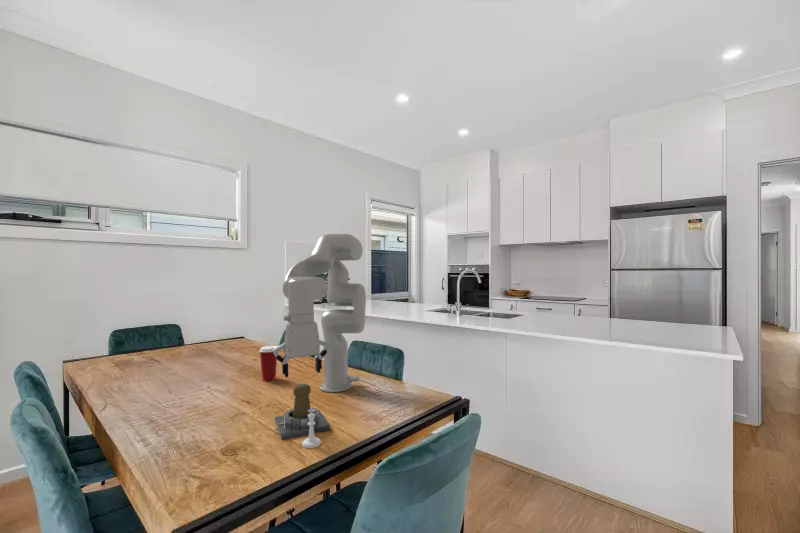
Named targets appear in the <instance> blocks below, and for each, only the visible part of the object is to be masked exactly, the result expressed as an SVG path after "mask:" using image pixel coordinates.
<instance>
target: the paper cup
mask: <svg viewBox="0 0 800 533" xmlns="http://www.w3.org/2000/svg"><path fill="white" fill-rule="evenodd" d="M276 347H277V346H275V345H267V346H266V345H265V346H261V347H260V349H259V353H260V354H259V355H260V367H261V368H260V369H261V380H262V381H263V382H272V381H275V380H276V377H277V358H276V357H275V355H274V353H273V352H272V350H273V349H275V348H276Z"/></svg>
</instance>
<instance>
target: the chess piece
mask: <svg viewBox="0 0 800 533" xmlns="http://www.w3.org/2000/svg"><path fill="white" fill-rule="evenodd" d="M310 407H311V410H308V412H311V413H310V414H308V418H309V421H310V422H308V425H310V429H309V434H308V436H307V438H306V439H303V441H302V445H301V446H302V447H303V448H306V449H313V448H317V447H319V446H320V445H321V443H322V441H321V439H320V438H319V437H317V436H315V433H314V427H313V425H315V424H316V423H315V422H314V417H315V414H314V413H312V412H314V411H315V409H314V410H312V408H313V406H310Z"/></svg>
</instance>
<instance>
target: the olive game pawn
mask: <svg viewBox="0 0 800 533" xmlns="http://www.w3.org/2000/svg"><path fill="white" fill-rule="evenodd" d="M292 390H293V396H294V403H293V409H294V410H293V418H304V417H308V414H310V413H311V412H308V410H311V408H310V407H311V402H310V394H311V386H310V385H309V384H308V383H300V384H297V385H295V386H293V389H292Z"/></svg>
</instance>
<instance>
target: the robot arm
mask: <svg viewBox="0 0 800 533" xmlns="http://www.w3.org/2000/svg"><path fill="white" fill-rule="evenodd" d="M363 250H364V249H363V245H362V243H361V241H360V240H359V239H358V238H357V237H356V236H355V235H352V234H349V233H328V234H324V235H322V236H320V237H319V238H318V240H317V242H316V244H315V246H314V248H313V249H312V251H311V254H310V256H309V255H308V257H306V258H304V259H302V260H301V261H298V262H297V263H295V264H294V265H293V266H292V267H291V268H290V269H289V271H288V272H287V274H286V276H285V278H284V280H283V284H282V294H283V295H284V297H285V298H286V299H287V300H288V302H287V303H288V306H287V307H288V314H287V315H285V316H283V321H284V322H285V321H286V322H287V323H286V325H285V332H284V342H283V343H281V344H280V345H279V346H276V348H275V349H273V350H272V352H273V353H274V355H275V357H276V358H277V360H278V362H280V363H281V368H282V369H281V370H282V372H281V373H282V375H284V376H285V378H289V364H288V362H289V360H290V359H296V358H304V357H306V358H307V357H313V356H315V357H316V358H315V360H314V361H315V362H314V364H315V371H316V372H317V373H318V374H320V373H321V370H322V369H323V382H322V383H321V384H320V385H319V389H320V390H321V391H323V392H326V393H340V392H345V391H348V390H350V389H351V388H352V383H353V382H359V381H360V376H359V375H357V376H355V375H349V374H348V371H349V370H348V369H349V367H348V366H349V364H348V358H349V356H348V351H349V350H348V345H349V344H348V341H347V340H346V338H345V337H344V335H343V334H361V333H362V332H363V331H364V329H365V327H366V326H365V324H366V305H367V303H366V302H367V301H366V299H367V297H366V296H367V295H366V294H367V293H366V289H365V286H364V285H363V284H362V283H358V282H357V283H356V282H355V283H353V282H351V283H349V278H350V277H349V275H350V272H349V270H348V267H347V266H346V265H345V264H344V263H343V262H344V261H348V262H349V261H353V262H354V261H359V260H361V258H362V255H363ZM342 261H343V262H342ZM325 273H327V280H326V279H325V278H323V277H321V276H320V275H323V274H325ZM325 296H326V301H327V304H328V305H329V306H332V307H352V308H353V309H342V308H341V309H336V308H335V309H328V310H326V311H324V312H323V313H322V314H321V318H320V319H321V320H320V324H321V330H322V335H323V336H322V337H323V340H321V339H320V334H319V328H318V323H317V321H315V316H314V315H315V312H314V310H315V309H314V308H315V307H314V304H315V303H314V301H315V300H316V301H317V300H322V299H324V297H325ZM321 346H322V347H323V349H321ZM283 350H284V355H283V356H282V355H280V353H279V352H281V351H283ZM322 360H323V364H322ZM322 366H323V368H322Z"/></svg>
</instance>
